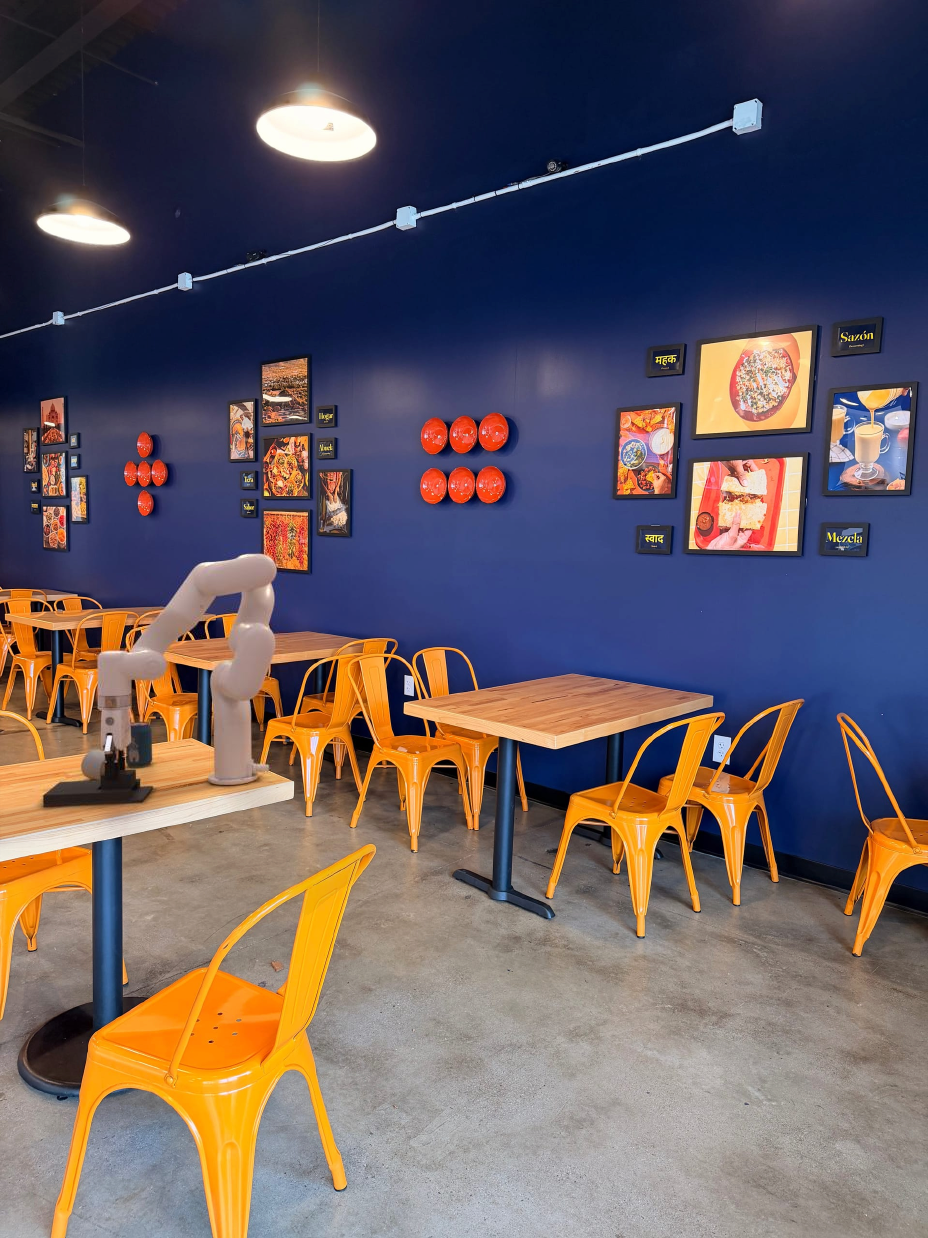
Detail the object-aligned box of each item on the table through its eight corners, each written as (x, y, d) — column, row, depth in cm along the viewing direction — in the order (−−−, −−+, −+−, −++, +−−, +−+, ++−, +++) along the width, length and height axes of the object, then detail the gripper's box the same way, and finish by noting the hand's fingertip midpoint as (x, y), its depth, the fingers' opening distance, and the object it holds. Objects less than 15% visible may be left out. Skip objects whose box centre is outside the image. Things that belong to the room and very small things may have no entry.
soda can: (150, 761, 231) (149, 720, 230) (154, 766, 225) (153, 724, 224) (124, 764, 227) (123, 722, 226) (127, 769, 221) (126, 726, 220)
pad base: (153, 788, 202) (152, 778, 202) (142, 802, 190) (142, 791, 190) (60, 793, 198) (59, 781, 198) (43, 807, 186) (42, 795, 186)
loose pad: (136, 783, 197) (135, 769, 197) (131, 788, 193) (131, 774, 192) (106, 784, 196) (105, 770, 196) (100, 789, 191) (100, 775, 191)
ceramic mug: (101, 785, 205) (101, 755, 204) (80, 781, 208) (80, 752, 208) (135, 776, 214) (135, 748, 214) (115, 773, 218) (115, 745, 217)
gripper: (122, 707, 185) (122, 784, 186) (139, 696, 202) (139, 767, 203) (88, 707, 184) (88, 785, 185) (107, 696, 201) (108, 768, 202)
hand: (115, 775), depth 194 cm, fingers closed on loose pad, 5 cm apart
